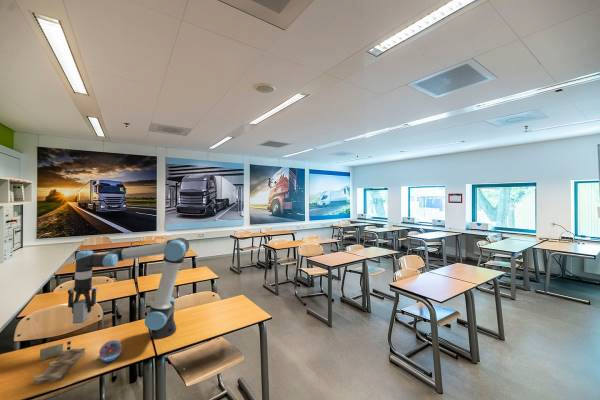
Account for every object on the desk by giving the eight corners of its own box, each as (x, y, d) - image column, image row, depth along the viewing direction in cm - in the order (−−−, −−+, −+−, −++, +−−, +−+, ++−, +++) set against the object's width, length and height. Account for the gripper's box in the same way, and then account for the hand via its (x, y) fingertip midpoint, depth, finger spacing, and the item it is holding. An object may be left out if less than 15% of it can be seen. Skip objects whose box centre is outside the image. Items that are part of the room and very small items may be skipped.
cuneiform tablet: (70, 354, 138) (39, 363, 129) (69, 352, 141) (39, 361, 132) (70, 341, 139) (40, 349, 130) (70, 339, 142) (40, 347, 134)
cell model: (98, 369, 126) (99, 350, 127) (98, 357, 136) (99, 340, 136) (122, 361, 133) (123, 344, 133) (121, 351, 142) (121, 334, 142)
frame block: (89, 317, 145) (90, 298, 145) (82, 323, 138) (83, 303, 138) (80, 318, 144) (81, 299, 144) (72, 323, 137) (73, 304, 137)
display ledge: (84, 353, 139) (85, 347, 139) (60, 380, 118) (60, 373, 118) (63, 356, 136) (63, 350, 136) (34, 384, 115) (34, 377, 115)
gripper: (104, 275, 147) (102, 314, 147) (68, 276, 143) (66, 317, 142) (98, 279, 140) (96, 320, 140) (60, 280, 135) (58, 323, 135)
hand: (81, 318), depth 141 cm, fingers closed on frame block, 5 cm apart
